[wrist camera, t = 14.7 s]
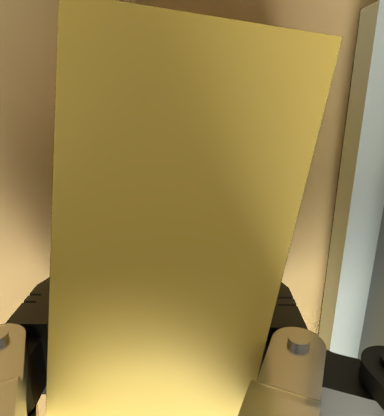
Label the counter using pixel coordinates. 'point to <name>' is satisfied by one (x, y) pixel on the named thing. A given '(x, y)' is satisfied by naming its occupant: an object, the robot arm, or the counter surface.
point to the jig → (359, 205)
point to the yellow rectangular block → (173, 202)
